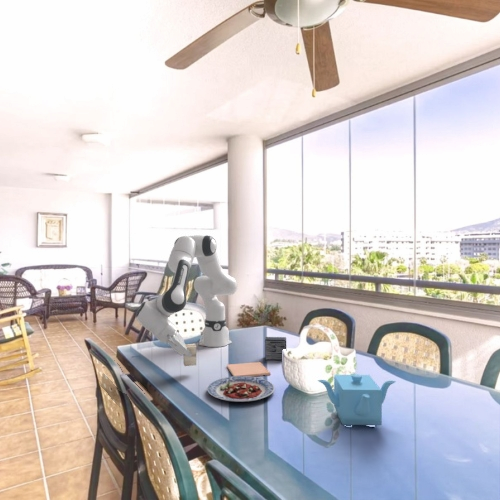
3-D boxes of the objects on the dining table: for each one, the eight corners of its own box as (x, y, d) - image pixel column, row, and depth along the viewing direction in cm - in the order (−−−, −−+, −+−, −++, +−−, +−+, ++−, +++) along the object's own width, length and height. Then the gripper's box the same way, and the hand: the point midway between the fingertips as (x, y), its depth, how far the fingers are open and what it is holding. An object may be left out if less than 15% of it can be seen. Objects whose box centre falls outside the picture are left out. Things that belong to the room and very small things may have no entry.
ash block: (183, 362, 172) (183, 344, 172) (194, 361, 173) (194, 343, 173) (184, 366, 167) (184, 347, 167) (196, 365, 168) (196, 346, 168)
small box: (286, 357, 197) (286, 336, 196) (286, 361, 190) (286, 339, 190) (265, 356, 198) (265, 336, 197) (264, 360, 191) (264, 339, 191)
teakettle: (347, 404, 139) (347, 363, 139) (398, 421, 125) (398, 375, 125) (315, 421, 126) (315, 375, 126) (368, 442, 112) (368, 391, 112)
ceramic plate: (288, 392, 151) (288, 384, 151) (241, 413, 132) (241, 404, 132) (240, 376, 168) (240, 370, 168) (193, 393, 150) (193, 385, 150)
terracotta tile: (226, 366, 181) (226, 364, 181) (259, 364, 185) (259, 361, 185) (234, 378, 166) (234, 375, 166) (270, 374, 170) (270, 372, 170)
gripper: (173, 332, 158) (198, 355, 161) (170, 322, 178) (192, 342, 180) (162, 344, 157) (187, 366, 160) (160, 333, 177) (182, 352, 179)
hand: (190, 353), depth 170 cm, fingers closed on ash block, 5 cm apart
